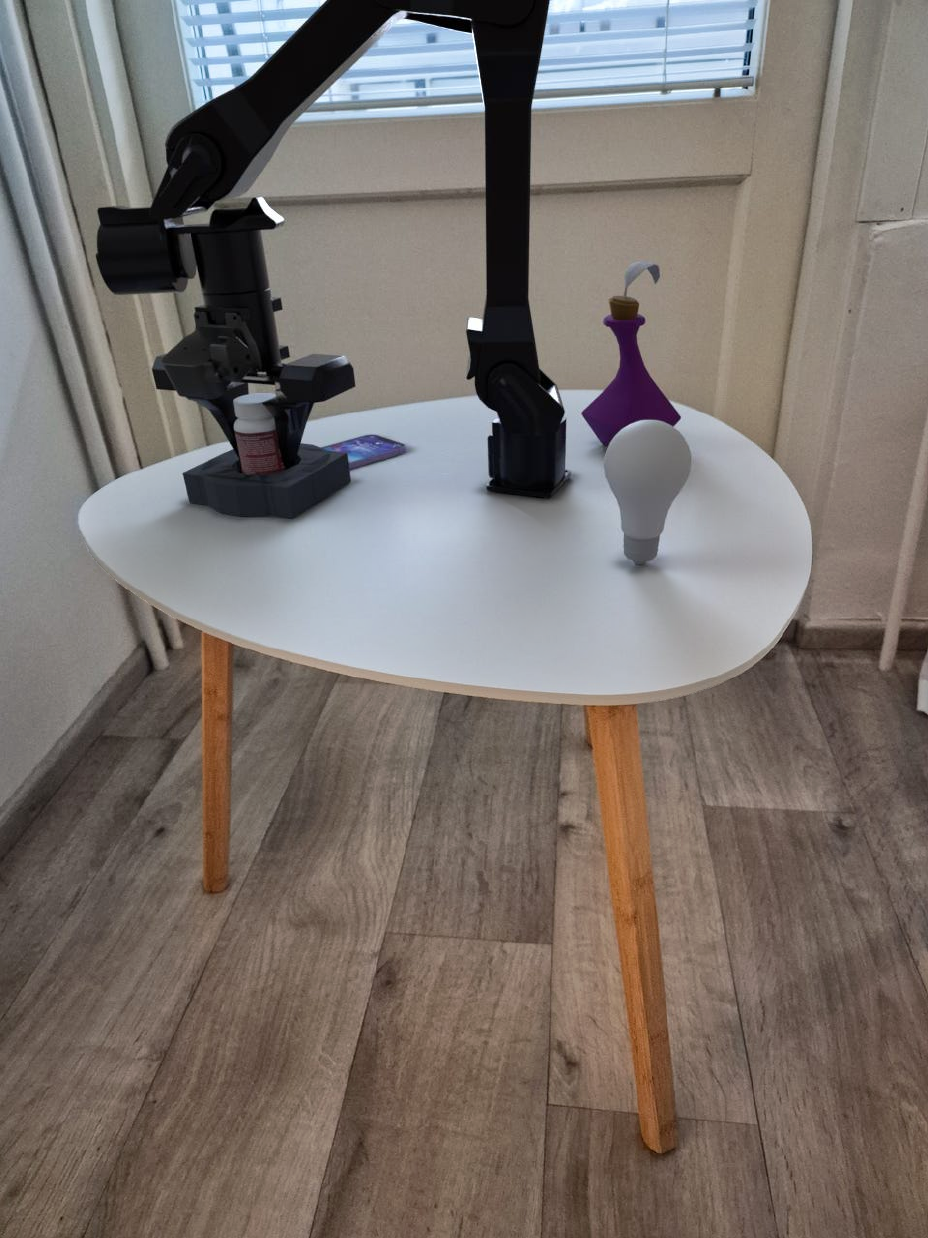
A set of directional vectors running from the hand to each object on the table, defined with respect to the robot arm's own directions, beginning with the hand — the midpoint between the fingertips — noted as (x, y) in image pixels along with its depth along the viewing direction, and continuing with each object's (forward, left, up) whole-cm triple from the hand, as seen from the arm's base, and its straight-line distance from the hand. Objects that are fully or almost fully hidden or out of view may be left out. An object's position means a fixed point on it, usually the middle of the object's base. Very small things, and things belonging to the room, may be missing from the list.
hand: (267, 464), depth 76 cm
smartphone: (-1, -10, -3) cm, 11 cm away
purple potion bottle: (-29, -24, -3) cm, 38 cm away
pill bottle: (0, 0, -2) cm, 2 cm away
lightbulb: (-37, +3, -3) cm, 37 cm away
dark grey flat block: (0, 0, -3) cm, 3 cm away
